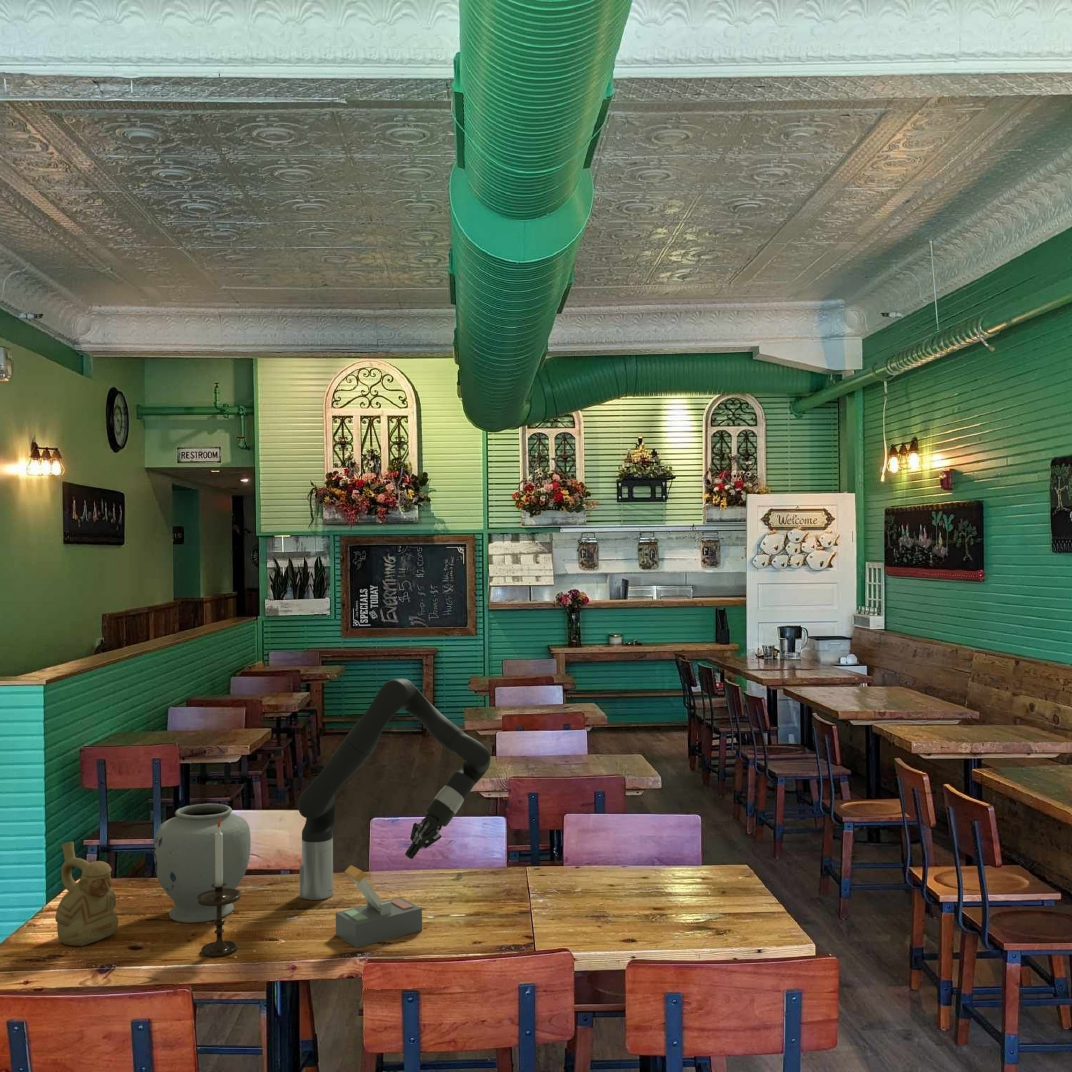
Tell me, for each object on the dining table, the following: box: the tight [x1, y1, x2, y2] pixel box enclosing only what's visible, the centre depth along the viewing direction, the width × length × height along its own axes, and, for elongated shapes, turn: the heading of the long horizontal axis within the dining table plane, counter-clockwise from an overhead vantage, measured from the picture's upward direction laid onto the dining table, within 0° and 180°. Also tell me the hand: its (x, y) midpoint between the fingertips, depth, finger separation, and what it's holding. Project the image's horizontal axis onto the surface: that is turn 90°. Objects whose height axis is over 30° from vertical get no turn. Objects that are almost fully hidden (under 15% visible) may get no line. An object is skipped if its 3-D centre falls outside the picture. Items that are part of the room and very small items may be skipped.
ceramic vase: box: [153, 803, 252, 924], centre depth 291 cm, size 27×27×30 cm
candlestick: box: [197, 817, 242, 958], centre depth 262 cm, size 11×11×35 cm
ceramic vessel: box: [54, 841, 119, 947], centre depth 273 cm, size 17×20×25 cm
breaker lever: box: [344, 864, 383, 910], centre depth 271 cm, size 2×6×14 cm
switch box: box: [335, 896, 423, 949], centre depth 273 cm, size 20×12×9 cm, turn 127°
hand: (408, 856), depth 279 cm, fingers closed
